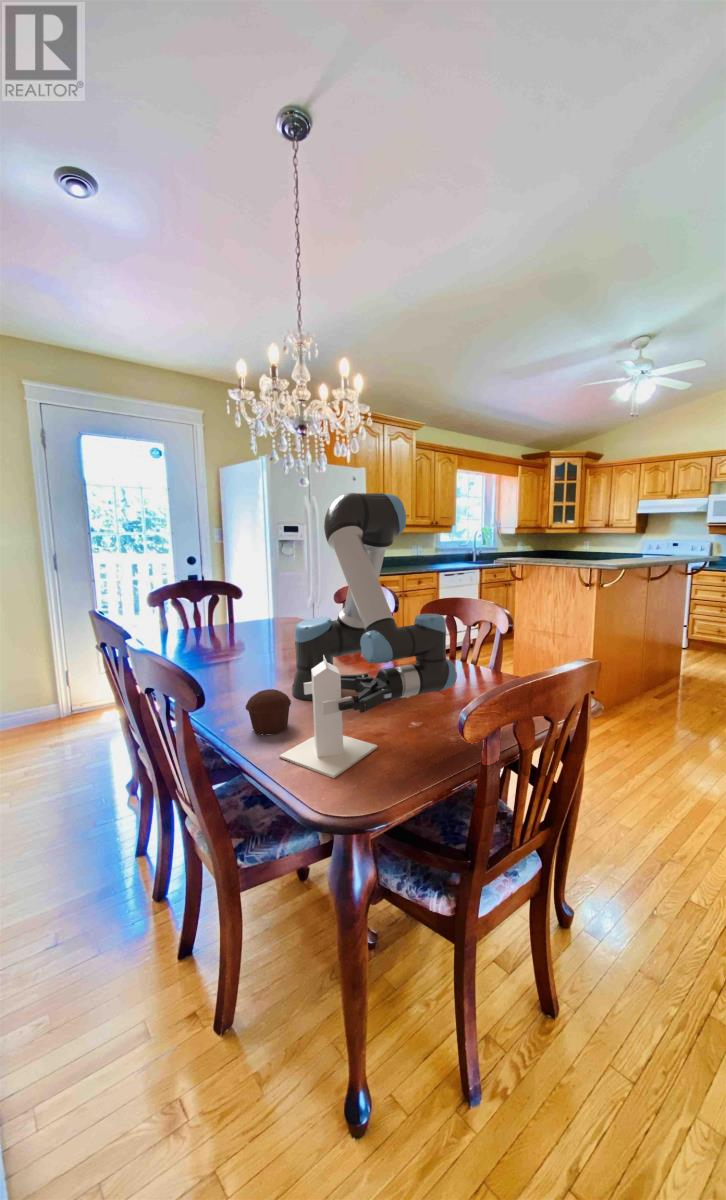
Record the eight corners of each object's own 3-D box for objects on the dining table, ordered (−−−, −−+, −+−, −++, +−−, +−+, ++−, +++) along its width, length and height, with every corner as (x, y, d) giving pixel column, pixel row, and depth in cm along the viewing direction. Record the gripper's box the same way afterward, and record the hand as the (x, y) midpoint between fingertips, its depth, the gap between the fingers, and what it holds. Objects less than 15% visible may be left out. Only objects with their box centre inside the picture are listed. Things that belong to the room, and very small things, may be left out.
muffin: (286, 716, 128) (284, 681, 126) (298, 731, 118) (296, 694, 117) (243, 725, 123) (240, 689, 122) (251, 741, 113) (248, 702, 112)
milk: (339, 743, 109) (336, 653, 106) (343, 755, 104) (340, 660, 100) (314, 746, 108) (310, 655, 105) (316, 758, 102) (312, 662, 99)
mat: (325, 732, 117) (325, 729, 117) (377, 747, 108) (377, 745, 108) (279, 757, 104) (279, 755, 104) (333, 778, 95) (333, 775, 95)
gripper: (424, 715, 100) (332, 735, 92) (375, 682, 123) (298, 696, 115) (423, 682, 99) (331, 699, 91) (374, 655, 122) (296, 667, 113)
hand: (312, 698), depth 103 cm, fingers open, 13 cm apart
